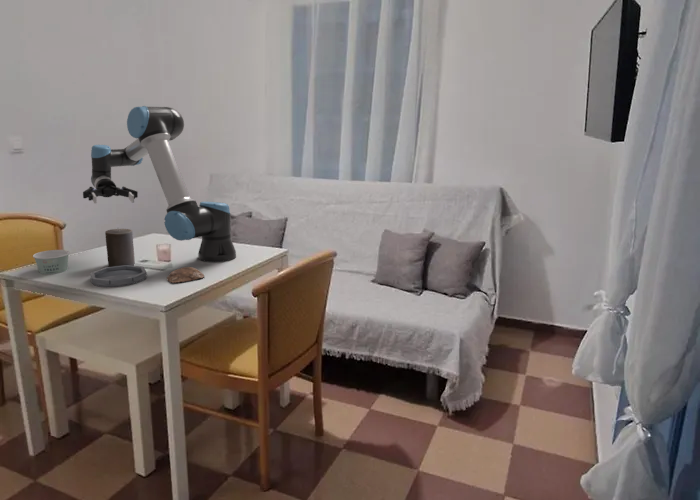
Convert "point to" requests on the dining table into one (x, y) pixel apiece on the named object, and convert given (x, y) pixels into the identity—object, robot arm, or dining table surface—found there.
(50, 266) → the food container
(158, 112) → the robot arm
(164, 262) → the dining table surface
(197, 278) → the shell
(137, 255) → the dining table surface
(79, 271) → the dining table surface
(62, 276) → the dining table surface
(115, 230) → the pillar candle
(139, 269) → the tray
